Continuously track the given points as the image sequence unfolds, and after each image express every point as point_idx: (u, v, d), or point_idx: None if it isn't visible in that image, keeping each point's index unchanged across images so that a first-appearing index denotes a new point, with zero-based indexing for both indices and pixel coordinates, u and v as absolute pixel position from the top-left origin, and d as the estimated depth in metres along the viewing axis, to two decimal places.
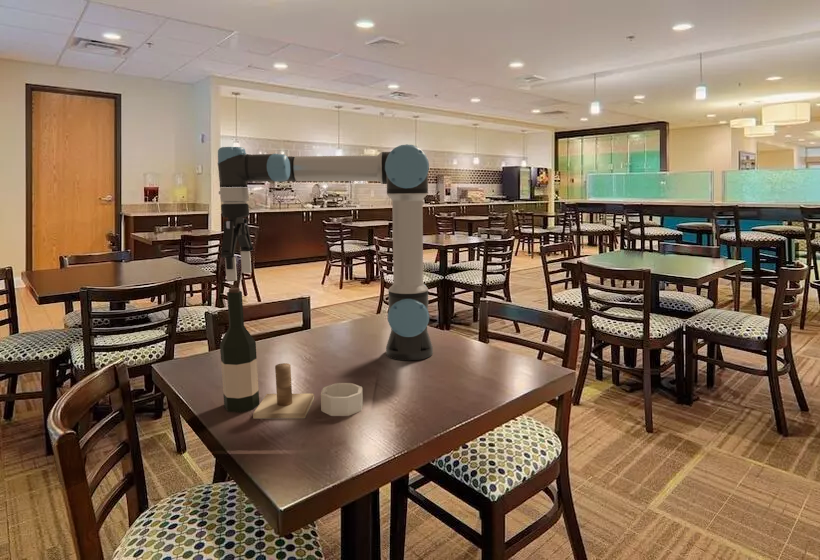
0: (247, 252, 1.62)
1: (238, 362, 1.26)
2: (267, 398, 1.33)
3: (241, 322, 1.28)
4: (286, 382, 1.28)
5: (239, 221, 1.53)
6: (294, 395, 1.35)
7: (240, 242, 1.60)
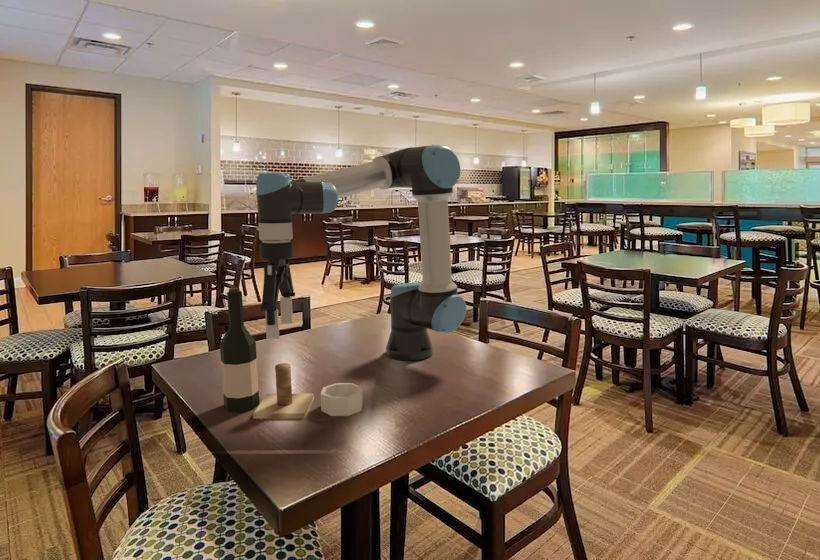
0: (288, 299, 1.33)
1: (238, 362, 1.26)
2: (267, 398, 1.33)
3: (241, 322, 1.28)
4: (286, 382, 1.28)
5: (281, 263, 1.24)
6: (294, 395, 1.35)
7: (280, 287, 1.31)
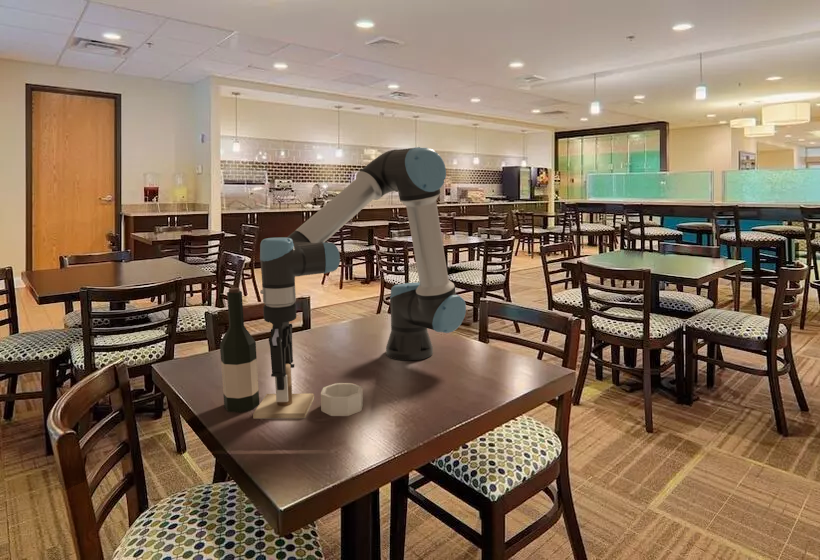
0: None
1: (238, 362, 1.26)
2: (267, 398, 1.33)
3: (241, 322, 1.28)
4: None
5: (285, 325, 1.27)
6: (294, 395, 1.35)
7: None
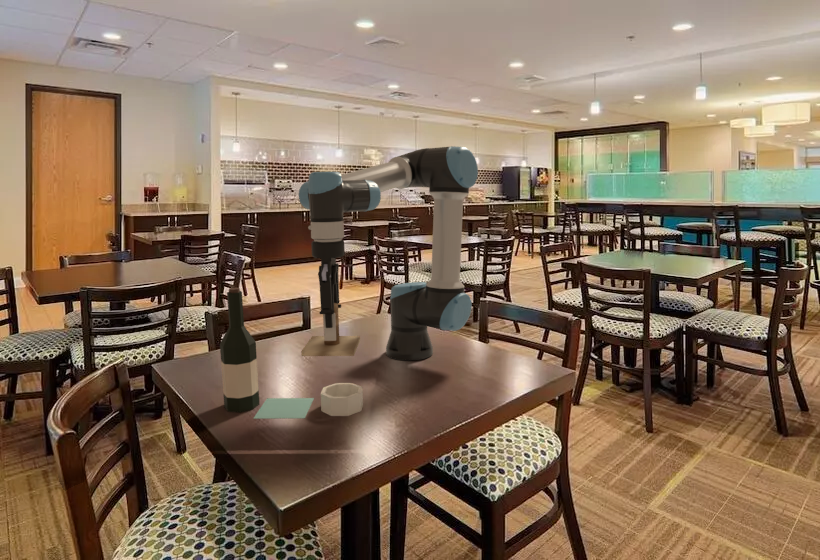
0: None
1: (238, 362, 1.26)
2: (313, 340, 1.31)
3: (241, 322, 1.28)
4: None
5: (333, 262, 1.24)
6: (340, 337, 1.33)
7: None
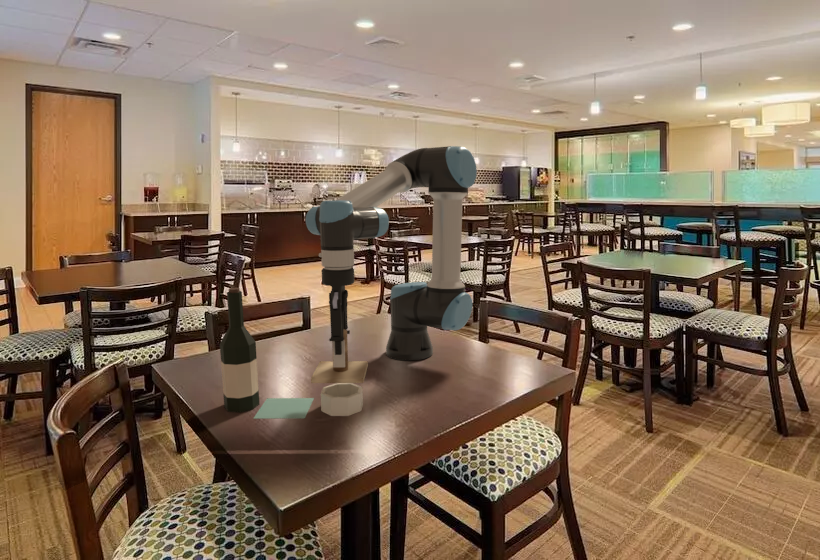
0: None
1: (238, 362, 1.26)
2: (322, 365, 1.32)
3: (241, 322, 1.28)
4: None
5: (342, 289, 1.25)
6: (348, 362, 1.34)
7: None
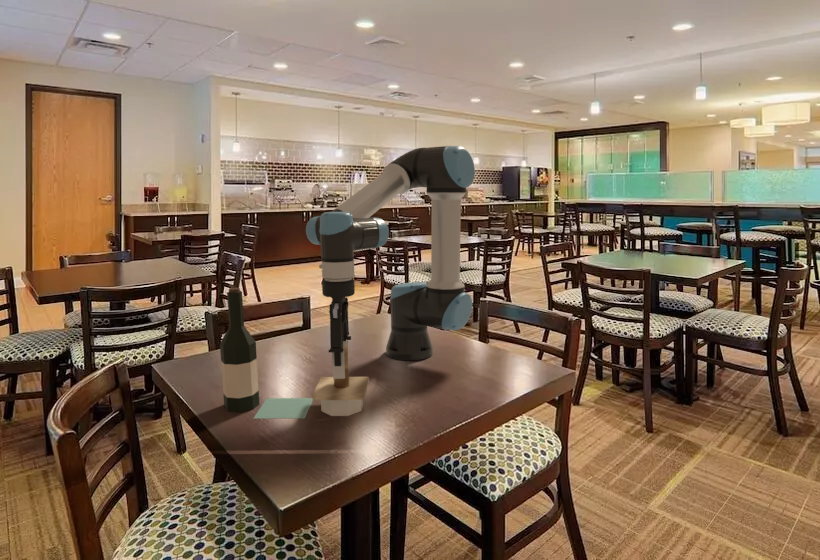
0: (345, 343, 1.32)
1: (238, 361, 1.26)
2: (323, 381, 1.32)
3: (241, 322, 1.28)
4: None
5: (343, 300, 1.26)
6: (349, 378, 1.34)
7: None
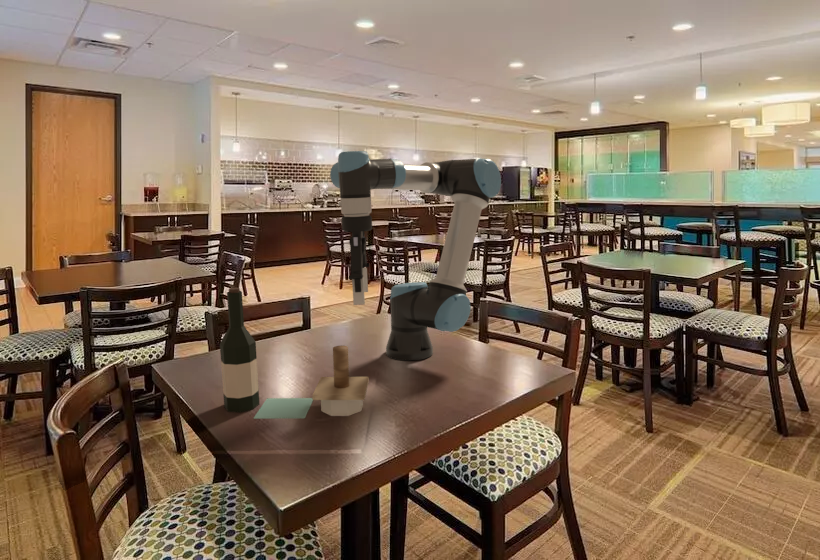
0: (364, 269, 1.43)
1: (238, 361, 1.26)
2: (323, 381, 1.32)
3: (241, 322, 1.28)
4: (344, 364, 1.27)
5: None
6: (349, 378, 1.34)
7: None
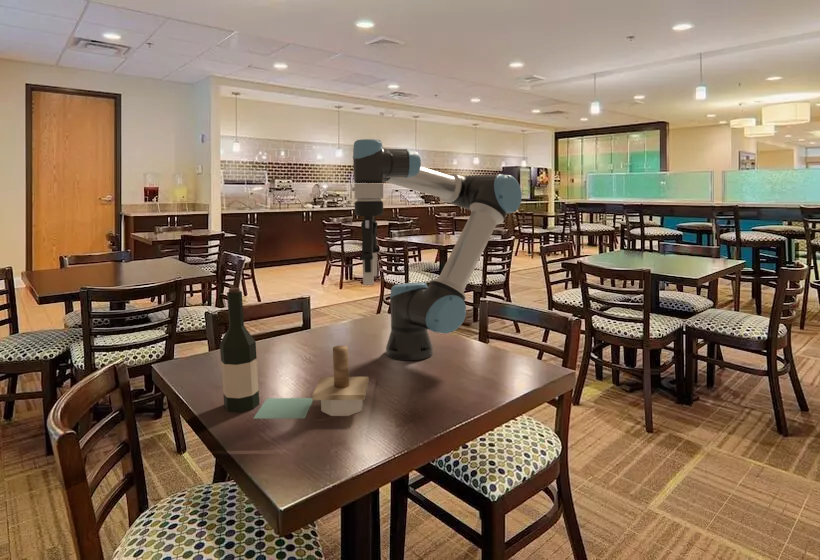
0: (374, 254, 1.50)
1: (238, 362, 1.26)
2: (323, 381, 1.32)
3: (241, 322, 1.28)
4: (344, 364, 1.27)
5: (373, 220, 1.41)
6: (349, 378, 1.34)
7: None
